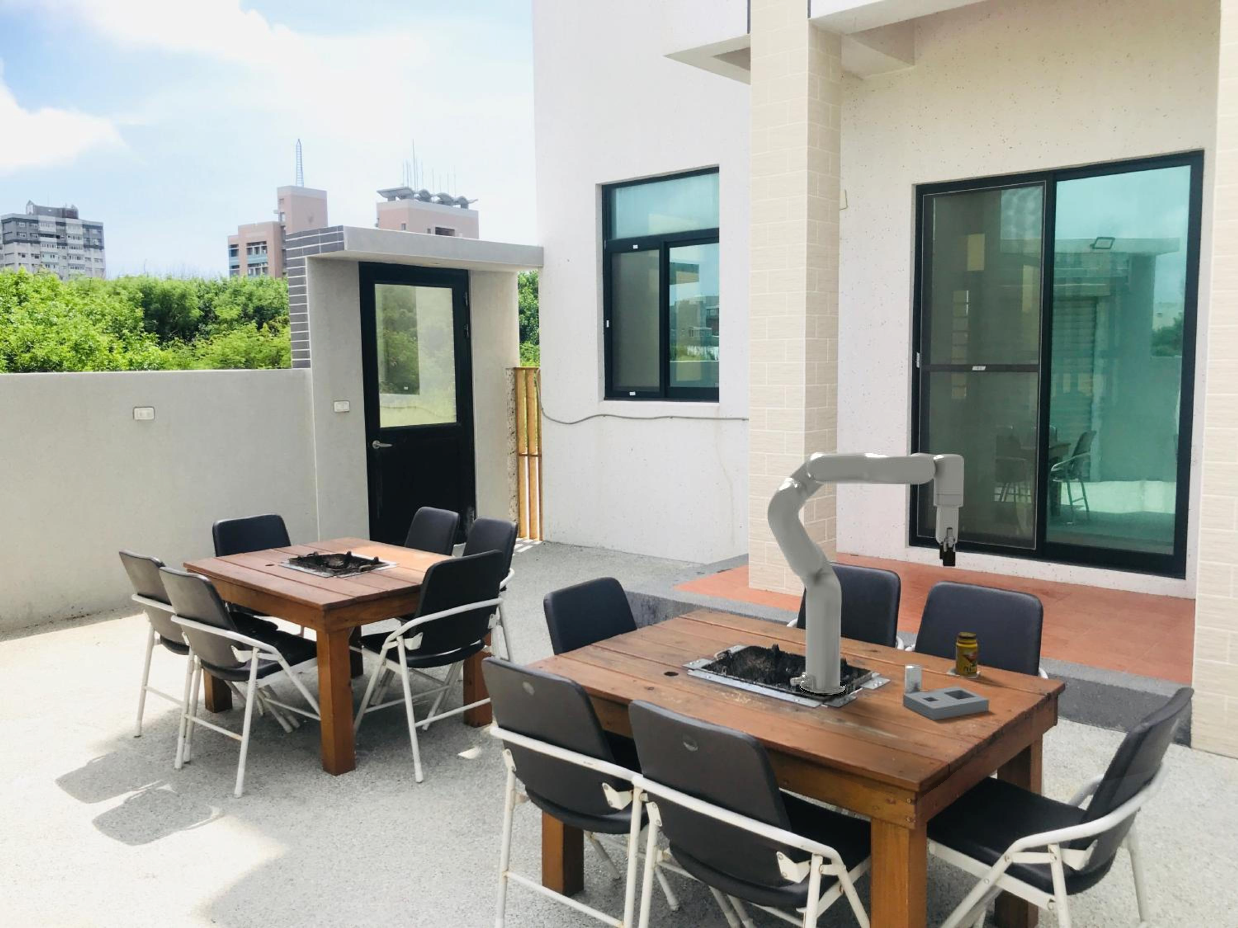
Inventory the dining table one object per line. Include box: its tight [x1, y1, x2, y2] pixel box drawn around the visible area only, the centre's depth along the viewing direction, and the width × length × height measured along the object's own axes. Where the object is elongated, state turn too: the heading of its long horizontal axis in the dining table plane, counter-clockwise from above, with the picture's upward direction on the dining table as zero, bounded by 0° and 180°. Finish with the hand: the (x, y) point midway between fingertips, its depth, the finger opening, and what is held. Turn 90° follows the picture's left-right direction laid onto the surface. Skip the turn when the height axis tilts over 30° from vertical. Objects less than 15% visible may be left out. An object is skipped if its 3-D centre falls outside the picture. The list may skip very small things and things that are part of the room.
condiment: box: [945, 631, 981, 679], centre depth 285 cm, size 7×8×12 cm
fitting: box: [904, 663, 923, 694], centre depth 267 cm, size 4×4×8 cm
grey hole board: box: [902, 685, 990, 721], centre depth 256 cm, size 18×12×3 cm, turn 112°
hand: (947, 562), depth 262 cm, fingers open, 9 cm apart
